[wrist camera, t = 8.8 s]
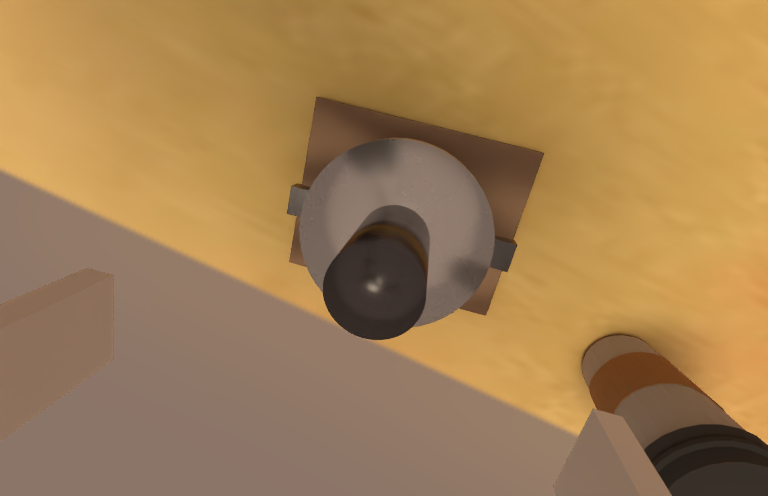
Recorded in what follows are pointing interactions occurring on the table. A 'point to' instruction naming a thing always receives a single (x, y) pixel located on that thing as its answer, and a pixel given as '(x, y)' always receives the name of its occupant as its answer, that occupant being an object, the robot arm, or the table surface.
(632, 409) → the coffee cup
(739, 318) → the table surface
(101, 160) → the table surface
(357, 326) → the lid
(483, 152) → the walnut board
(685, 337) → the table surface
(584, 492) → the robot arm
